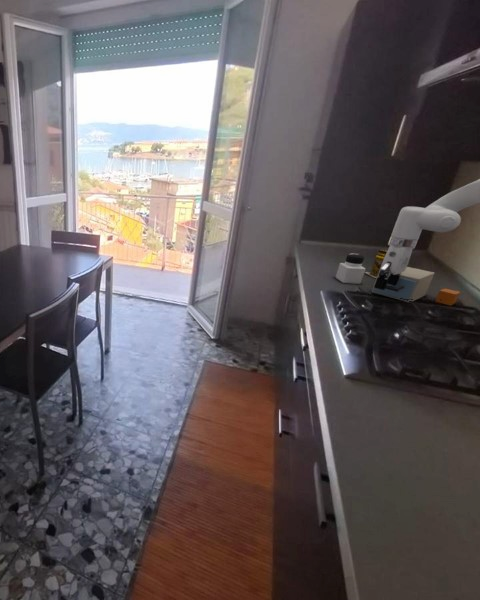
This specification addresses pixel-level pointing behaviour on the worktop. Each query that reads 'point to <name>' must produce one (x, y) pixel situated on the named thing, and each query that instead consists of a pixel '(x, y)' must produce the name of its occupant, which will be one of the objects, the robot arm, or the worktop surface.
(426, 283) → the small drawer box
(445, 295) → the orange cube
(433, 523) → the worktop surface
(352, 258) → the medicine bottle
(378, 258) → the condiment
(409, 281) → the blue drawer
